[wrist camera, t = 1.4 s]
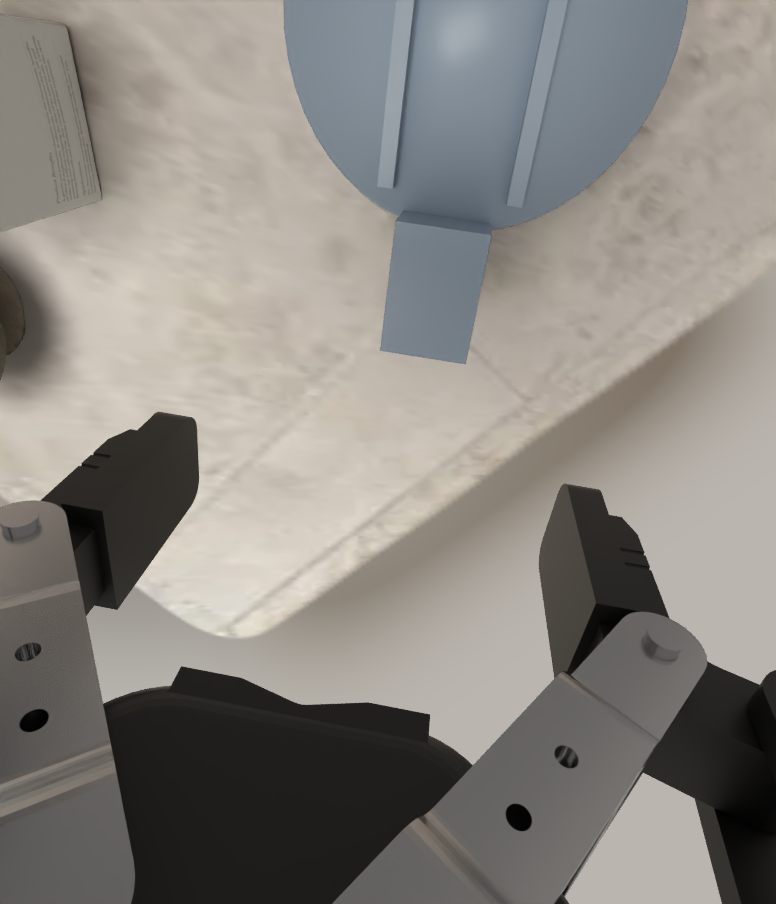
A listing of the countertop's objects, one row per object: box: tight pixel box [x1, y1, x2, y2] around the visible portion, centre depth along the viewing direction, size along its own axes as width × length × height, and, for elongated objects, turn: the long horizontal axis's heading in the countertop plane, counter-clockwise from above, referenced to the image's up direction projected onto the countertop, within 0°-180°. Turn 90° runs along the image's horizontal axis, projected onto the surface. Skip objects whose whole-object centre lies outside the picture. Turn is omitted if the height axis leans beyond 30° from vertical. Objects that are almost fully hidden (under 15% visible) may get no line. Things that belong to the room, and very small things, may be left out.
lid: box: [284, 0, 688, 364], centre depth 21 cm, size 18×14×4 cm
